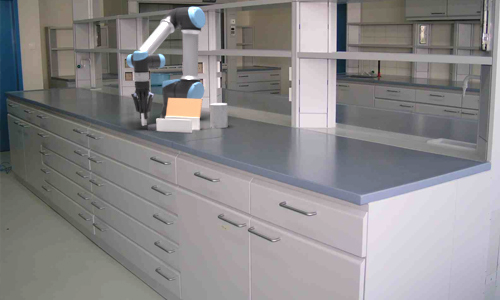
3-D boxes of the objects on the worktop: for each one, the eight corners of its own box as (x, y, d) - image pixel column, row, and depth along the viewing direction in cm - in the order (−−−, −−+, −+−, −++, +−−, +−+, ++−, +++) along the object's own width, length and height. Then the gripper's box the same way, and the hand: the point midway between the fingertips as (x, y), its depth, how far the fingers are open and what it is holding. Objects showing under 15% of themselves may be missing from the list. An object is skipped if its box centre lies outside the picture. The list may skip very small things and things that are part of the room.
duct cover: (165, 116, 292) (166, 116, 293) (199, 117, 285) (200, 118, 286) (168, 97, 294) (169, 98, 295) (201, 98, 286) (202, 99, 287)
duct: (166, 128, 294) (165, 116, 292) (199, 129, 286) (199, 117, 285) (156, 131, 284) (156, 118, 283) (191, 132, 277) (190, 120, 276)
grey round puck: (150, 128, 294) (150, 123, 294) (160, 128, 293) (160, 124, 292) (145, 130, 289) (145, 125, 288) (156, 130, 287) (156, 126, 287)
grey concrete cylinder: (216, 128, 290) (215, 105, 288) (206, 126, 298) (206, 103, 295) (231, 126, 295) (230, 104, 293) (221, 124, 303) (221, 102, 301)
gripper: (127, 81, 287) (129, 125, 291) (148, 81, 282) (151, 126, 286) (135, 80, 293) (137, 123, 298) (156, 80, 289) (158, 124, 293)
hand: (144, 125), depth 292 cm, fingers closed
